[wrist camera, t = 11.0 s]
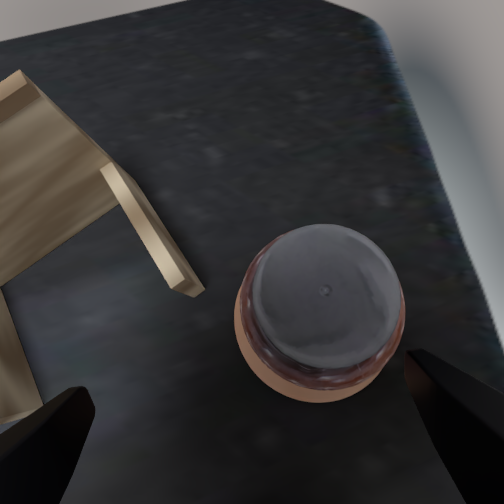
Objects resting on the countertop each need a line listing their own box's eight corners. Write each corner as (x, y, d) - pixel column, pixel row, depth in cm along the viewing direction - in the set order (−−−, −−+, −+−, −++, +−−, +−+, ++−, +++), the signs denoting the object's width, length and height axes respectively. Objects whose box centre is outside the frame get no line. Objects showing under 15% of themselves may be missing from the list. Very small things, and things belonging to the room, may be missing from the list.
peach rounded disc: (393, 409, 17) (399, 413, 16) (229, 389, 19) (226, 391, 18) (387, 248, 20) (391, 243, 19) (244, 243, 22) (241, 238, 21)
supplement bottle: (316, 253, 20) (339, 152, 9) (381, 327, 18) (507, 310, 7) (246, 308, 19) (180, 271, 9) (303, 388, 17) (311, 470, 7)
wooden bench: (205, 289, 21) (117, 244, 11) (32, 415, 21) (-233, 491, 10) (134, 179, 25) (19, 69, 15) (-14, 283, 24) (-242, 244, 14)
